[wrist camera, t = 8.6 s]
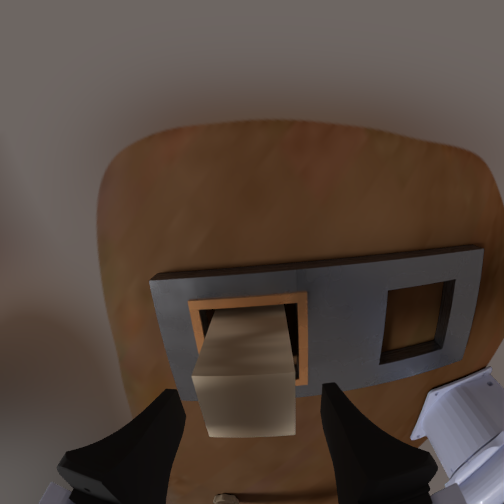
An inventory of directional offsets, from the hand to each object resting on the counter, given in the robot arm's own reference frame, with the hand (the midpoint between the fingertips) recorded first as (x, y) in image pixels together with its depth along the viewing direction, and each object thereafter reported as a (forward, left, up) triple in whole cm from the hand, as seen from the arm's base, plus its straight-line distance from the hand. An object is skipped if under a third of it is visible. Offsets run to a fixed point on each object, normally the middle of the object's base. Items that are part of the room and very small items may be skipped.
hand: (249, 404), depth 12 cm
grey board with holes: (-6, 0, -7) cm, 9 cm away
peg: (0, 0, -7) cm, 7 cm away
